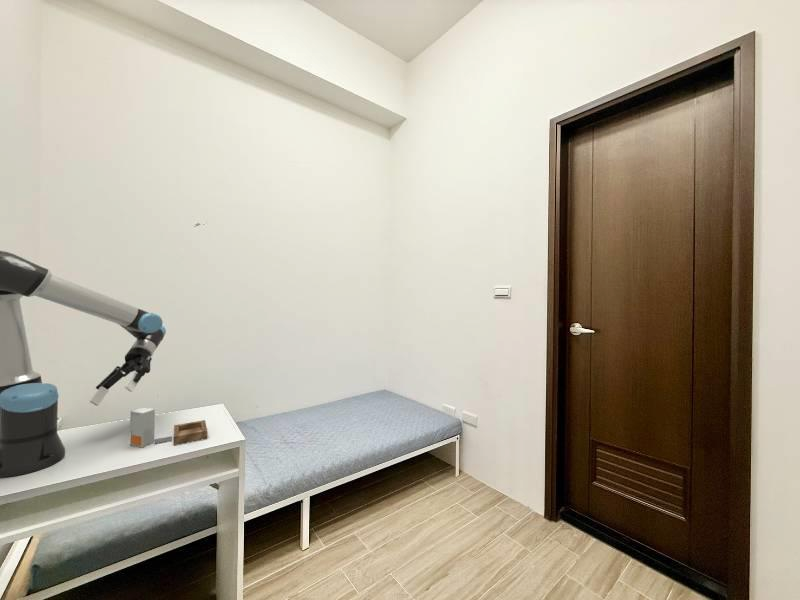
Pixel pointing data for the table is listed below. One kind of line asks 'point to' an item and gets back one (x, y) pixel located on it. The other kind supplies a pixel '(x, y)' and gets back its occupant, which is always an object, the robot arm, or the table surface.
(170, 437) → the flat gray slab
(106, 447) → the table surface
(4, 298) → the robot arm
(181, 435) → the socket block
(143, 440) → the skincare box
